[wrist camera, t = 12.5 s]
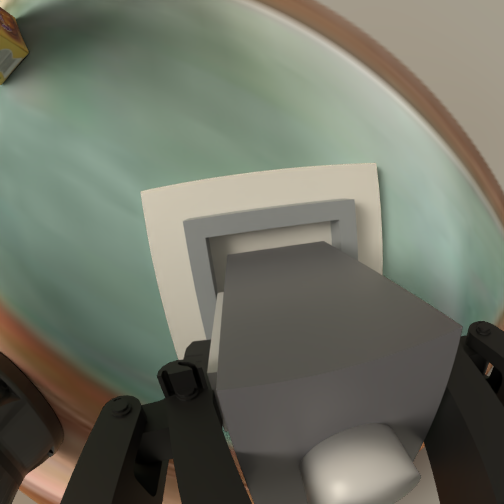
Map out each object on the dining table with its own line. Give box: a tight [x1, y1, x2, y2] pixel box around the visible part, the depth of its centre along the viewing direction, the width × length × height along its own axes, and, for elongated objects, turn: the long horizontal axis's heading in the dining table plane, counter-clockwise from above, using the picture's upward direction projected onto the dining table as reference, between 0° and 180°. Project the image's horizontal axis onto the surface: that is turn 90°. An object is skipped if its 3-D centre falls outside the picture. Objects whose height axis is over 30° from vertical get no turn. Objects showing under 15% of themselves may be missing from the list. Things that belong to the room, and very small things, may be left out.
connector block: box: [216, 241, 463, 504], centre depth 9 cm, size 5×6×12 cm
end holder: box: [141, 163, 383, 360], centre depth 16 cm, size 14×14×2 cm
